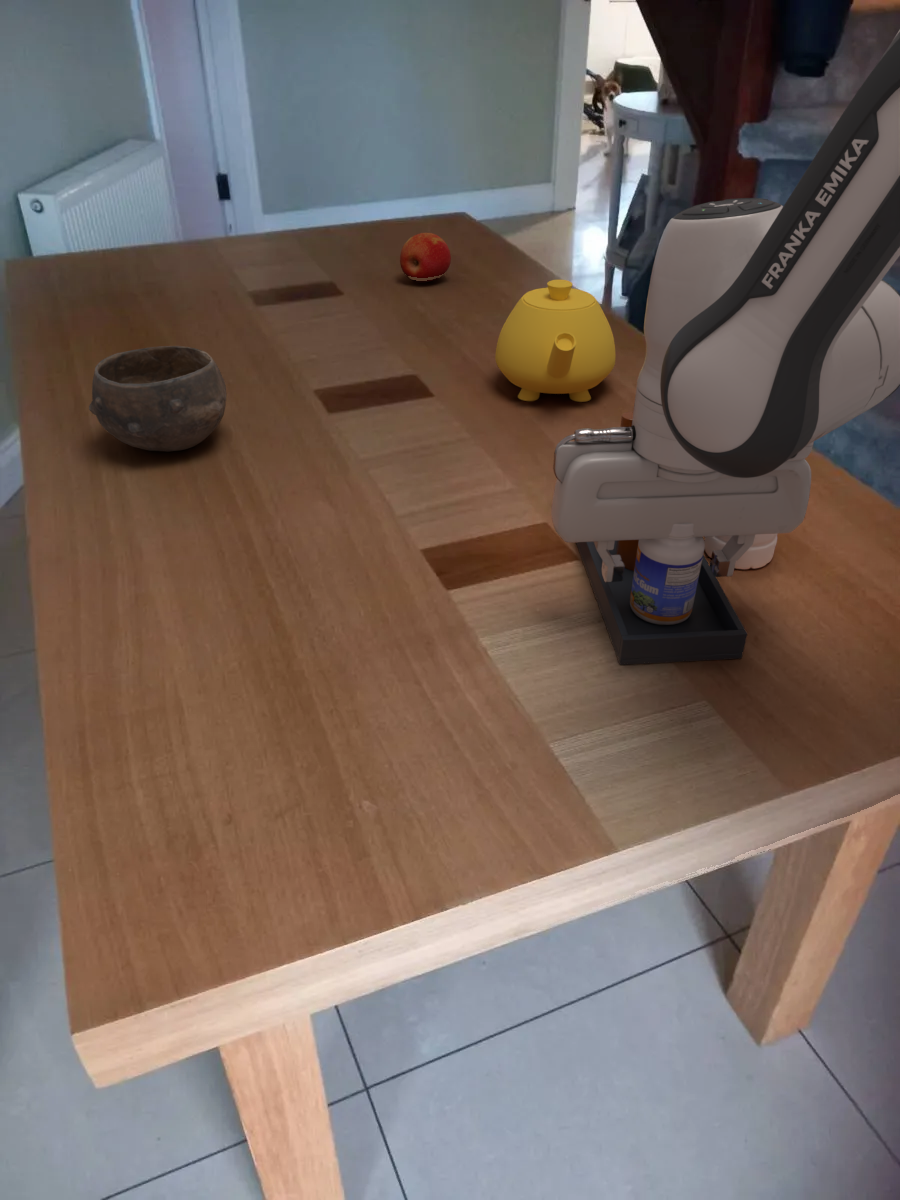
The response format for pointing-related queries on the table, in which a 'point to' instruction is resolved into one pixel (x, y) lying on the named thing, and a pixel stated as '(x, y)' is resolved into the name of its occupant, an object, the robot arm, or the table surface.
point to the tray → (640, 642)
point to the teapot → (556, 343)
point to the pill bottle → (667, 576)
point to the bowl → (159, 397)
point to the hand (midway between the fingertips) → (666, 575)
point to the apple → (425, 256)
